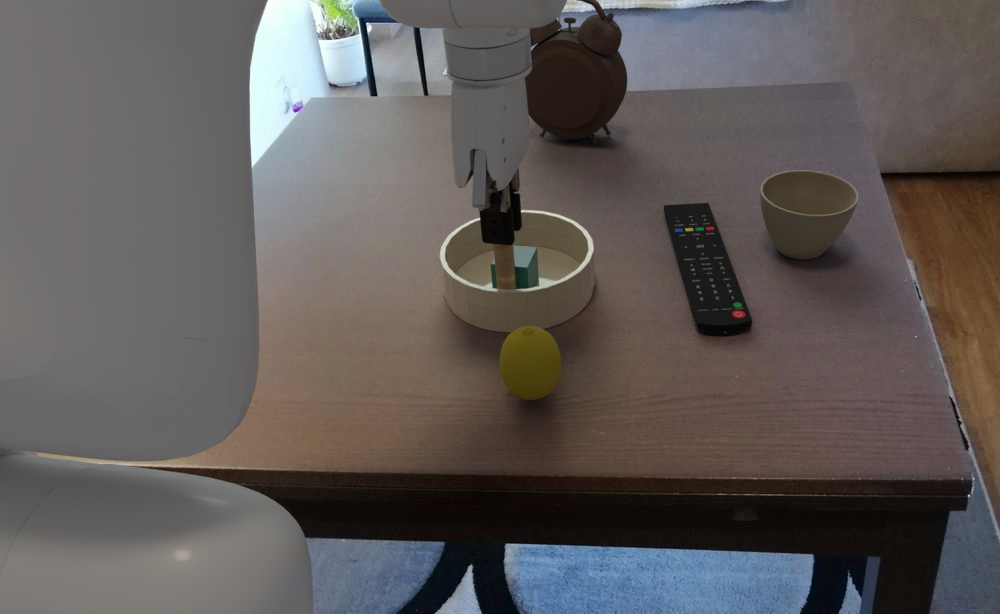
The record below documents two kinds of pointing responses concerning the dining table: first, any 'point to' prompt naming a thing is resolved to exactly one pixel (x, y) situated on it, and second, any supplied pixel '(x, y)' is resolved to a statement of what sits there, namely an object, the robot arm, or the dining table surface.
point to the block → (522, 267)
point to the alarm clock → (576, 76)
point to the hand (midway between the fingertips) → (502, 234)
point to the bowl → (543, 306)
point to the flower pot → (806, 211)
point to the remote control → (707, 270)
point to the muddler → (504, 260)
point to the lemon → (530, 363)
